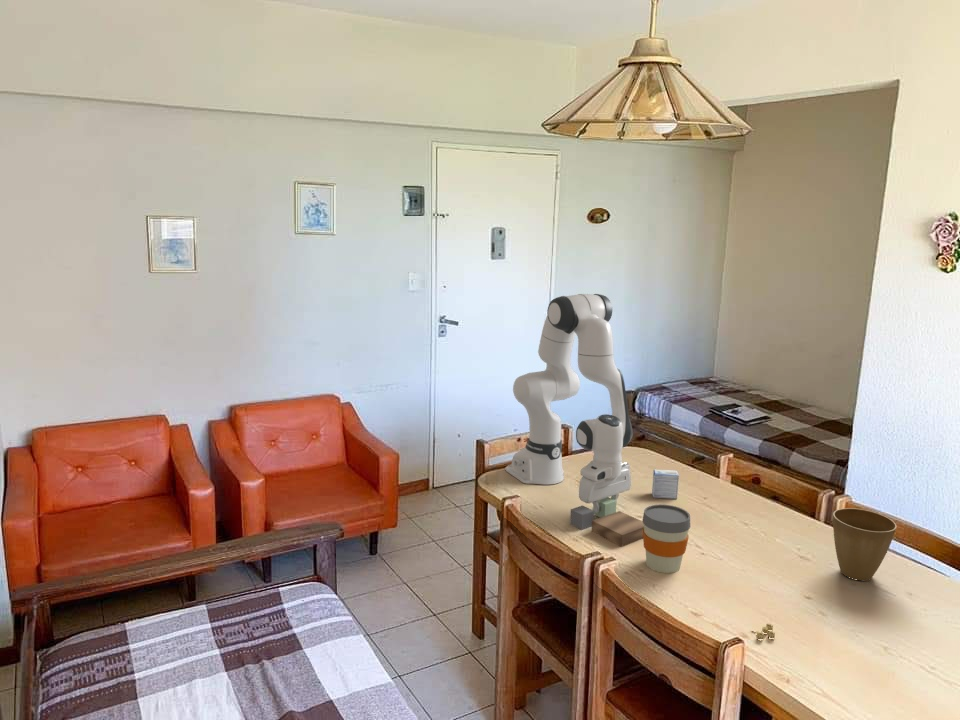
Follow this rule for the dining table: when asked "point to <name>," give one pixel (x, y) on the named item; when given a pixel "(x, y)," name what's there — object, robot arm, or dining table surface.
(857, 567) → the plant pot
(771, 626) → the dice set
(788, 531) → the dining table surface
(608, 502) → the sage block
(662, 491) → the medicine box
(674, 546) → the reusable coffee cup
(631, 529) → the walnut plinth
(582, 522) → the charcoal block
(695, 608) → the dining table surface
